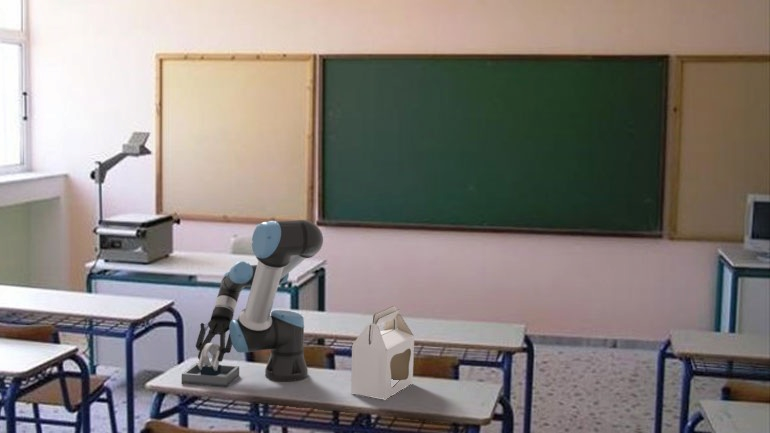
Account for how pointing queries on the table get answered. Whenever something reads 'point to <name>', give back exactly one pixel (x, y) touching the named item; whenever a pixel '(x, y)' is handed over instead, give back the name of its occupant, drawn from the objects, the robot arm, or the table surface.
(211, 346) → the watch
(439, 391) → the table surface
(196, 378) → the tray
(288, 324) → the robot arm
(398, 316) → the gable box
